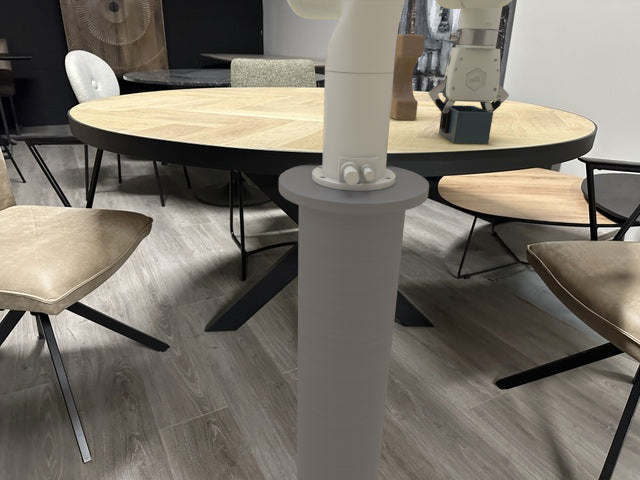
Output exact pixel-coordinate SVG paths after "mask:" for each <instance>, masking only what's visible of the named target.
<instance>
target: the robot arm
mask: <svg viewBox="0 0 640 480" xmlns="http://www.w3.org/2000/svg"><path fill="white" fill-rule="evenodd" d="M405 1H406V0H286V2H287V4H288V6H289V8H290V9H291V10H292V12H293V13H294V14H295V15H297V16H298V17H300V18H303V19H306V20H319V21H320V20H323V21H326V20H329V21H333V20H334V21H335V20H336V21H337V20H338V22H337V24H336V26H335V28H334V30H333V32H332V35H331V36H330V38H329V41H328V44H327V46H326V51H325V57H324V89H323V91H324V92H323V94H324V95H323V124H322V125H323V128H322V129H323V130H322V132H323V133H322V161H321V162H322V166H319V167H317V168H315V169H314V170H313V171H312V180H313V181H314V182H315V183H317V184H319V185H321V186H324V187H327V188H331V189H336V190H344V191H375V190H381V189H385V188H388V187H390V186H392V185H393V184H394V183H395V178H396V175H395V173H394V172H392V171H391V170H389V169H387V168H386V165H387V160H388V148H389V147H388V145H389V136H390V135H389V134H390V125H391V124H390V123H391V117H390V111H391V99H392V87H393V75H394V61H395V51H396V42H397V34H399V28H400V22H401V18H402V13H403V9H404V6H405ZM434 1H435V3H436V4H437V5H439V7H442V8H444V9H449V10H459V19H458V25H457V29H456V31H455V32H450V34H449V37H448V38H449V41H452V42H454V45H455V47H452V48H451V51H450V54H449V57H448V60H447V64H446V67H445V73H444V78H443V80H442V81H440V82H439V83H438V84H437V85H436V86H434V87H433V88H432V89H430V90H429V91H428V96H429V97H430V99H431V100H432V101H433V103H434V105H435V106H436V107H437V109H438V110H439V112H440V119H439V127H440V129H441V131H442V132H443V133H445V134H448V133H449V126H450V119H451V114H450V113H449V112H450V109H451V108H452V106H453V105H455V103H456V102H467V103H468V102H469V103H473V102H474V103H479V104H480V108H481V109H484V110H487V111H489V112H492V113H493V114H494V112H495V111H496V110H498V109H499V108H500V106H502V104H503V103H504V102H505V101H506V100H507V99H508V98H509V96H510V94H509V93H508V92H507V91H506V89H504V88H503V86H502V85H501V84H500V76H501V75H500V74H501V49H500V48H496V47H497V41H498V35H499V29H500V24H501V18H502V12H503V11H502V10H503V7H505V6H507V5H509V4H510V3H511V2H512V1H513V0H434ZM441 92H442V96H443V97H444V98H445V99H444V101H443V100H442V99H441V98H440V96H439V94H440V93H441Z"/></svg>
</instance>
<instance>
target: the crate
mask: <svg viewBox="0 0 640 480" xmlns="http://www.w3.org/2000/svg"><path fill="white" fill-rule="evenodd" d="M449 113H450V114H451V119H450V126H449V133H448V134H445V133H443V132H442V131H441V129H440V126H439V128H438V134H439V135H441V136H442V137H443V138H445V139H447V140H449V141H450V142H452V143H453V144H482V145H485V144H487V145H488V144H489V141H490V135H491V129H492V123H493V117H494V112H493V113H492V112H489V111H487V110H484V109H482V107H479V106H476V105H462V104H460V105H459V104H458V105H457V104H456V105H455V104H453V106H452V108H451V109H450V112H449Z"/></svg>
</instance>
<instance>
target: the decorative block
mask: <svg viewBox="0 0 640 480" xmlns="http://www.w3.org/2000/svg"><path fill="white" fill-rule="evenodd" d="M425 38H426V37H425V35H424V34H418V33H417V34H413V33H398V34H397V42H396V51H395V61H394V75H393V87H392V99H391V111H390V119H393V120H395V121H415V120H416V119H417V113H418V105H419V104H418V103H419V102H418V100H417V99H416V98H415V95H414V91H413V75H414V70H415V66H416V64H417V61H418V60H419V58H422V56H423V55H424V46H425Z"/></svg>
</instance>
